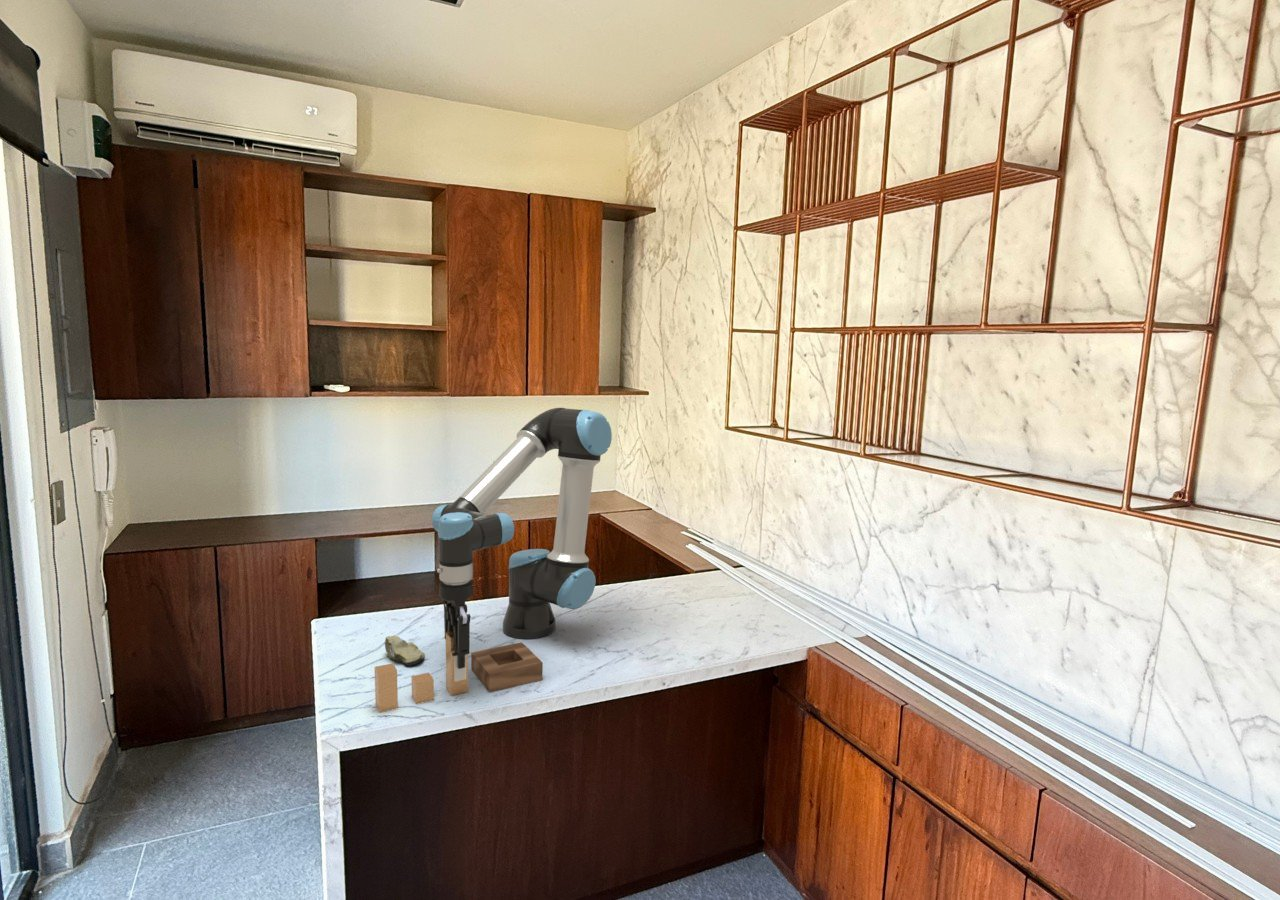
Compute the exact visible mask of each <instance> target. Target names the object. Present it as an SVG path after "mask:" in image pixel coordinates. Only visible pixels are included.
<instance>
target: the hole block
mask: <svg viewBox="0 0 1280 900" xmlns="http://www.w3.org/2000/svg"><path fill="white" fill-rule="evenodd" d="M470 656H471V657H470V658H471V659H470V663H471V665H470V667H471V668H470V669H471V671H472V673H473V674H474V675H475V676H476V677H477V678H478V680H479V681H480V682H481V684H482V685H483V686H484V687H485V689H486V690H487V691H488V693H493V692H497V691H500V690H506V689H509V688H514V687H518V686H523V685H527V684H530V683H534V682H538V681H543V669H544V668H543V661H542V660H541V659H540V658H539V657H538V656H537V655H536V654H535V653H533V652H532V650H531V649H529V647H527V646H526V645H525V644H524V643H523V642H522V641H520V642H516V643H511V644H506V645H500V646H497V647H492V648H487V649H482V650H476V651H473V652H471V651H470Z"/></svg>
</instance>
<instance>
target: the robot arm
mask: <svg viewBox="0 0 1280 900" xmlns="http://www.w3.org/2000/svg"><path fill="white" fill-rule="evenodd" d="M612 435H613V434H612V428H611V425H610V422H609V421H608V419H607V418H606V417H605V415H603V414H602V413H601V412H598V411H593V410H589V409H575V408H565V407H554V408H550V409H548V410H546V411H543V412H541V413H540V414H537V415H536V416H535V417H533V418H532V419H531V420H530V421H528V422H527V423H526V424H525V425H524V426H523V427H522V428H521V429H519V430H518V432H517V433H516V439H515V440H514V441H513V442H512V443H511V444H509V446H508V447H507V448H506V449H505V450H503V452H502V453H501V454H500V455H499V456H498V457H497V458H496V459H495V460H494V461H493V462H492V463H491V464H490V466H488V467H487V469H485V470H484V471H483V472H482V474H480V475H479V477H477V478H476V479H475V480H474V482H473V483H472V484H470V486H469V487H468V488H466V490H465V491H464V492H463V493H462V494H461V495H460V496H459V497H458V498H457V499H456V500H455V501H454V502H453V503H452V504H442V505H439V506H438V507H436V508H435V510H434V511H433V513H432V516H431V525H432V527H433V530H435V531H436V533H437V537H438V561H439V563H438V565H439V568H437V570H436V572H437V573H438V574H439V576H438V577H439V580H440V582H438V583H439V584H438V585H439V591H438V592H439V593H438V594H439V595H438V596H439V598H441V600H442V604H443V618H444V620H443V621H444V625H443V626H444V628H443V629H444V639H445V641H446V632H449V631H454V643H455V653H452V656H454V681H455V682H456V681H460V680H464V679H466V654H468V655H470V653H471V650H470V631H471V630H470V629H471V628H470V626H471V625H470V624H471V618H472V616H471V614H470V613H469V614H467V612H468V606H467V605H468V604H466V601H467V600H468V599H470V598H471V597H472V596H473V594H474V581H473V580H472V579H473V578H474V560H473V557H474V552H476V551H479V550H484V549H489V548H493V547H496V546H501V545H504V544H505V543H508V542H510V541H511V540H512V539H513V537H514V534H515V524H514V521H513V519H512V517H511V516H510V515H509V514H508V513H505V512H500V513H498V512H494V513H492V514H487V513H486V512H487V511H488V510H489V509H490V508H491V507H492V506H493V505H494V504H495V503H496V502H497V500H498V499H499V498H500V497H501V496H502V495H503V494H504V493H505V492H506V491H507V490H508V489H509V487H511V486H512V484H513V483H514V482H515V481H516V480H518V478H519V477H520V476H521V475H522V474H523V473H524V472H525V471H526V470H527V469H528V468H529V467H530V466H531V465H532V463H533V462H535V460H536V459H539V458H540V459H541V458H543V457H544V456H545V455H547V453H548V452H550V451H552V450H558V451H557V458H558V459H559V461H560V462H561V463H562V466H561V477H560V487H559V493H558V494H559V495H558V503H557V514H556V521H555V528H554V529H555V531H554V539H553V548H552V550H551V551H550V550H548V549H545V548H530V549H523V550H519V551H516V552H514V553H512V554H511V556H510V557H509V559H508V560H509V562H508V604H507V605H508V606H507V608H506V611H505V615H504V618H503V620H502V631H503V633H504V634H505V635H506V636H509V637H512V638H514V639H521V640H522V639H523V640H525V639H527V640H530V639H531V640H533V639H538V638H539V639H540V638H544V637H546V636H548V635H551V634H552V633H554V632H555V631H556V618H555V615H554V610H553V609H552V605H555V606H559V607H560V608H562V609H565V608H566V609H569V610H577V609H580V608H582V607H583V606H584V605H585V604H587V602H588V601H589V600H590V599H591V597H592V595H593V593H594V591H595V587H596V583H597V582H596V575H595V573H594V572H593V570H592V569H590V568H589V563H590V562H589V561H590V559H589V557H588V556H587V555H586V553H585V549H586V541H587V532H588V523H589V514H590V505H591V495H592V488H593V487H592V486H593V478H594V469H595V466H597V464H599V463H601V456H602V455H604V454H606V453H607V452H608V450H609V448H610V447H611V444H612V440H613V439H612V438H613V436H612ZM551 604H552V605H551Z"/></svg>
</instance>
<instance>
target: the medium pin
mask: <svg viewBox="0 0 1280 900" xmlns="http://www.w3.org/2000/svg"><path fill="white" fill-rule="evenodd" d="M374 693H375V694H374V695H375V697H374V698H375V699H374V700H375V702H374V703H375V706H376V708H377V710H378V711H377V712H378V713H379V712H380V713H384V712H388V711H387V710H389V711H392V709H393V710H397V709H398V708H399V701H398V699H399V697H398V696H399V694H398V693H399V692H398V670H397V668H396V666H395V664H394V663H387V664H383V665H378V666H374ZM396 708H397V709H396ZM383 711H384V712H383Z"/></svg>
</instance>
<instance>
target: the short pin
mask: <svg viewBox="0 0 1280 900" xmlns="http://www.w3.org/2000/svg"><path fill="white" fill-rule="evenodd" d="M434 682H435V681H434V678H433V676H432V675H431V673H430V672H424V673H420V674H416V675H412V676H411V697H412V699H413V701H414V702H415V704H416V705H418V703H419V704H422V702H423V703H426V701H427V702H431V701H434V700H435V699H434V698H435V686H434V685H435V684H434ZM430 700H431V701H430Z"/></svg>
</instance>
